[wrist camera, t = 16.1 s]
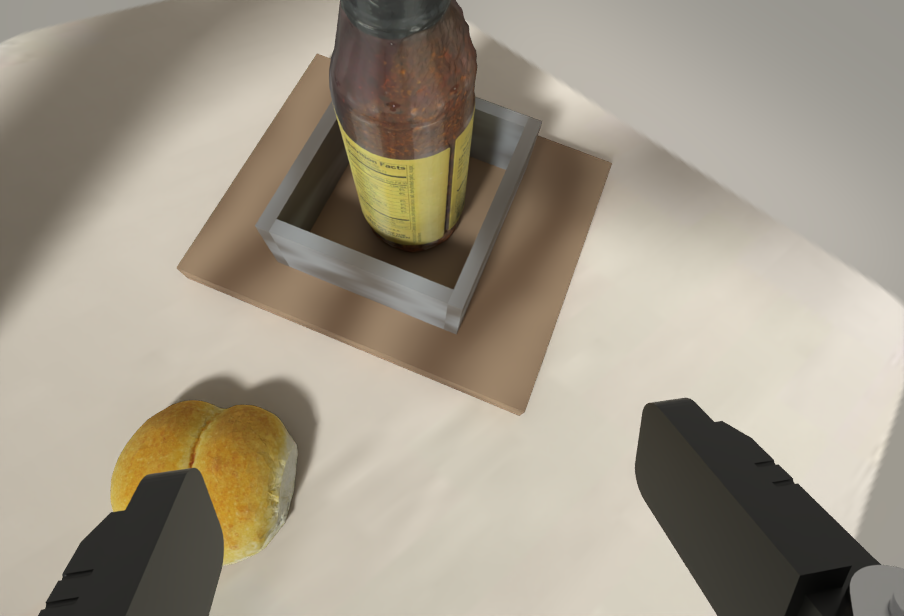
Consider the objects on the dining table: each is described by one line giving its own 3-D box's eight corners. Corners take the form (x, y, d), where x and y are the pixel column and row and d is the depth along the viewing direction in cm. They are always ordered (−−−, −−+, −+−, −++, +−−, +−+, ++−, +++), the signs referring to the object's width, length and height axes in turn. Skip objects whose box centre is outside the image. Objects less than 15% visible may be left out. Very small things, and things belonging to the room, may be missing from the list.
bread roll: (151, 399, 29) (112, 387, 25) (308, 412, 30) (292, 401, 26) (108, 558, 26) (57, 570, 23) (282, 571, 27) (260, 585, 23)
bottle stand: (187, 277, 32) (136, 232, 26) (320, 69, 37) (303, -5, 32) (519, 415, 30) (542, 399, 24) (604, 175, 36) (639, 117, 30)
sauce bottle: (420, 154, 34) (422, -259, 15) (482, 221, 32) (568, -143, 14) (339, 208, 32) (225, -183, 13) (400, 280, 31) (370, -42, 12)
